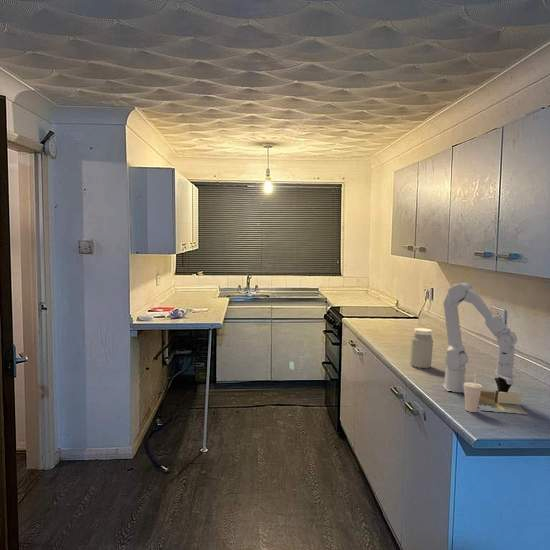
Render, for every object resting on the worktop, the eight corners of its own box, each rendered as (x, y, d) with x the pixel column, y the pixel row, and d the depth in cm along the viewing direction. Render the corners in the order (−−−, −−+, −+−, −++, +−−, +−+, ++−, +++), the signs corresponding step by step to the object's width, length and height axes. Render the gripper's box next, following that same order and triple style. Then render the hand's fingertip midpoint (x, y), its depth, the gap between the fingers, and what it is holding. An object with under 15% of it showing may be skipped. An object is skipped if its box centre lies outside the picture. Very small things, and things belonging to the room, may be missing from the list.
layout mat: (468, 396, 196) (468, 395, 196) (512, 400, 194) (512, 399, 194) (480, 411, 180) (480, 410, 180) (528, 415, 178) (528, 414, 178)
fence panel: (498, 402, 188) (499, 392, 188) (497, 401, 189) (498, 391, 189) (520, 404, 187) (521, 394, 187) (519, 403, 188) (520, 393, 188)
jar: (432, 370, 233) (434, 332, 231) (410, 367, 235) (413, 330, 233) (429, 364, 243) (432, 328, 241) (409, 362, 244) (411, 326, 243)
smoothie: (480, 415, 176) (483, 376, 174) (461, 412, 178) (464, 374, 177) (480, 409, 181) (483, 372, 180) (461, 406, 184) (464, 369, 183)
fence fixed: (470, 401, 190) (472, 388, 190) (496, 403, 189) (497, 390, 189) (471, 402, 189) (472, 389, 189) (497, 404, 188) (498, 391, 188)
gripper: (523, 368, 184) (519, 404, 185) (509, 359, 198) (506, 392, 199) (503, 367, 184) (500, 402, 186) (491, 357, 199) (488, 390, 200)
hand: (502, 397), depth 192 cm, fingers closed
